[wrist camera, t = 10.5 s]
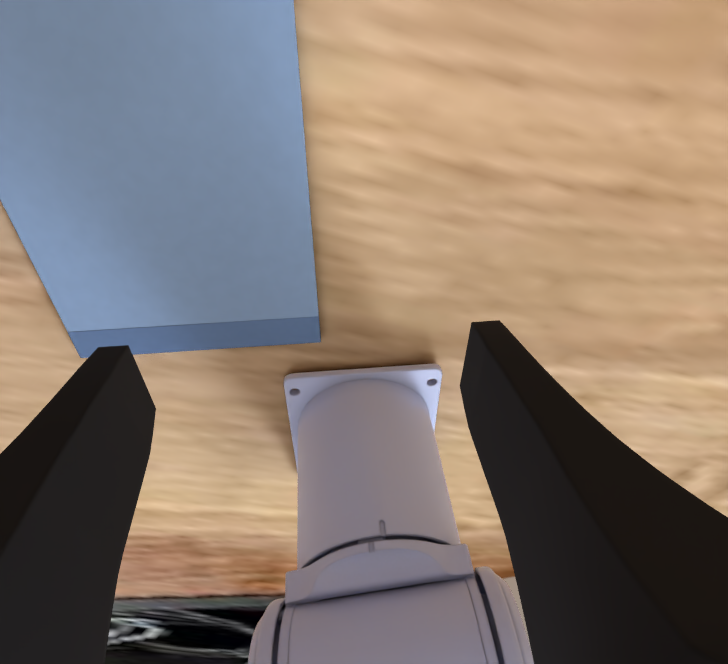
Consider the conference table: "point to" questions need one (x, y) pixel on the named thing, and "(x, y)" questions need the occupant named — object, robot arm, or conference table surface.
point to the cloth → (160, 170)
